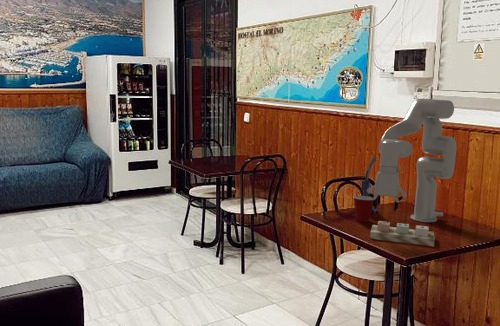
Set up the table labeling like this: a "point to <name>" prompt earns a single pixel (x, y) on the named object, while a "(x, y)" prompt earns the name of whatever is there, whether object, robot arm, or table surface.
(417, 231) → the tile one
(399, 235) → the board
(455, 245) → the table surface
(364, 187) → the hand press
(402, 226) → the tile two
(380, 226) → the tile three
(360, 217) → the plastic cup
